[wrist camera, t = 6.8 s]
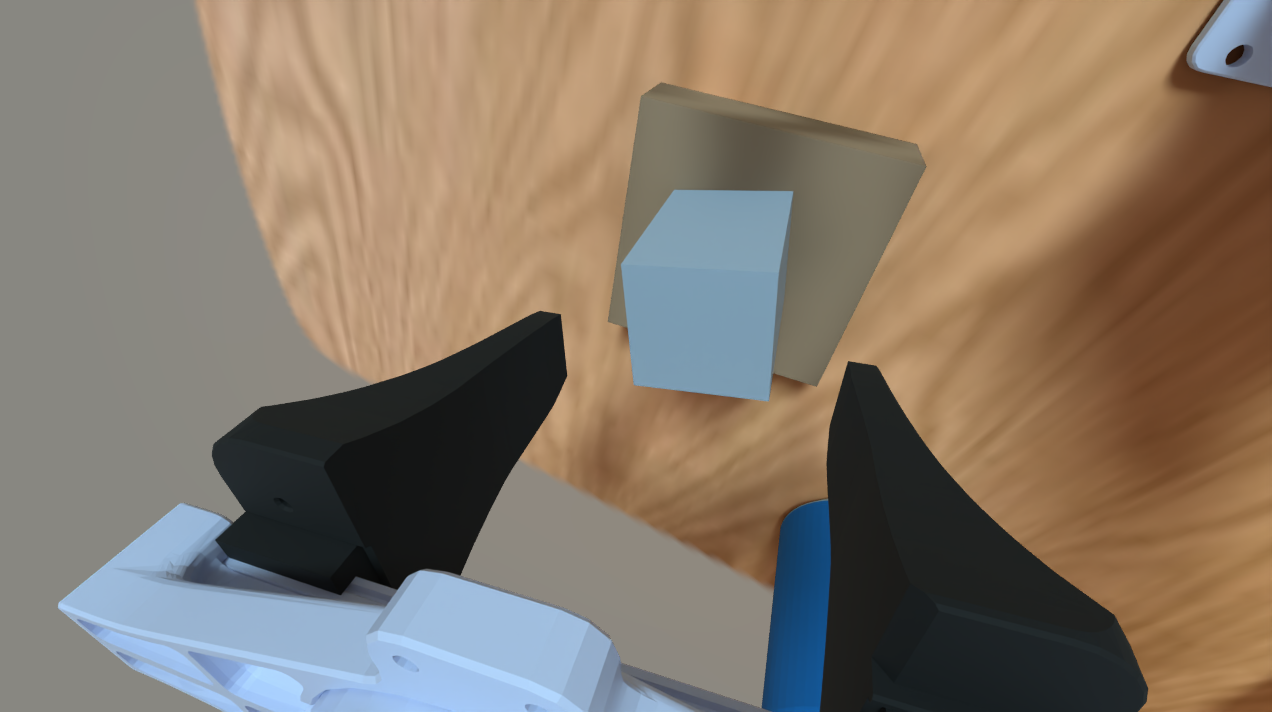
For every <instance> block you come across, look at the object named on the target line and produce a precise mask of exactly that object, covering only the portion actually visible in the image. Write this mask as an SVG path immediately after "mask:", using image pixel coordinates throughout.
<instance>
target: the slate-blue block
mask: <svg viewBox="0 0 1272 712" xmlns="http://www.w3.org/2000/svg"><path fill="white" fill-rule="evenodd" d="M792 201H793V191H733V190H674V191H673V192H672V193H671V195H670V196H669V198H668V199H667V200H666V202H665V203H664V205H663V206H662V207H661V209H660V210H659V212H658V213H657V214H656V216H655V217H654V219H653V220H652V221H651V223H650V224H649V226H648V227H647V228H646V230H645V231H644V233H643V234H642V235H641V237H640V238H639V240H638V241H637V242H636V244H635V245H634V247H633V248H632V249H631V251H630V252H629V254H628V255H627V256H626V258H625V259H624V261H623V262H622V263H621V270H622V279H623V288H624V298H625V307H626V316H627V326H628V335H629V344H630V354H631V363H632V372H633V382H634V385H637V386H646V387H654V388H662V389H671V390H679V391H687V392H696V393H704V394H712V395H721V396H729V397H737V398H746V399H754V400H762V401H769V397H770V390H771V384H772V377H773V370H774V364H775V357H776V350H777V343H778V337H779V330H780V323H781V317H782V310H783V303H784V295H785V283H786V271H787V260H788V248H789V236H790V225H791V213H792Z"/></svg>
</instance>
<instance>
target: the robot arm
mask: <svg viewBox="0 0 1272 712" xmlns="http://www.w3.org/2000/svg"><path fill="white" fill-rule="evenodd" d="M1240 45H1244V50H1245V51H1244V53H1243V55H1242V57H1240V58H1239V59H1238V60H1237V61H1236V62H1234V63H1232V64H1230V65H1226V62H1225V59H1226V57H1227V55H1228V53H1229V52H1230V51H1231V50H1233V49H1234V48H1235V47H1238V46H1240ZM1186 62H1187V63H1188V65H1189V67H1190V68H1192V69H1194V70H1196V71H1199V72H1203V73H1208V74H1212V75H1217V76H1222V77H1226V78H1231V79H1236V80H1240V81H1245V82H1250V83H1254V84H1259V85H1264V86H1268V87H1272V0H1224V1H1223V2H1222V3H1221V5H1220V6H1219V8H1218V9H1217V10H1216V12H1215V13H1214V15H1213V16H1212V17H1211V19H1210V20H1209V22H1208V23H1207V24H1206V26H1205V27H1204V28H1203V30H1202V31H1201V33H1200V34H1199V35H1198V37H1197V38H1196V40H1195V41H1194V42H1193V44H1192V45H1191V47H1190V49H1189V51H1188V53H1187V61H1186ZM566 377H567V369H566V359H565V350H564V340H563V331H562V321H561V314H556V313H549V312H543V311H539V312H536V313H534V314H532V315H530V316H528V317H526V318H524V319H522V320H520V321H518V322H516V323H514V324H512V325H510V326H509V327H507V328H505V329H503V330H501V331H499V332H497V333H495V334H494V335H492V336H490V337H488V338H486V339H484V340H482V341H480V342H478V343H476V344H474V345H472V346H470V347H468V348H466V349H464V350H462V351H460V352H458V353H456V354H453V355H451V356H449V357H447V358H445V359H443V360H441V361H438V362H436V363H433V364H431V365H429V366H426V367H424V368H421V369H418V370H416V371H413V372H410V373H408V374H405V375H402V376H399V377H396V378H392V379H389V380H386V381H383V382H379V383H376V384H373V385H370V386H366V387H363V388H359V389H355V390H351V391H347V392H343V393H338V394H334V395H329V396H325V397H320V398H315V399H310V400H304V401H298V402H291V403H285V404H279V405H272V406H265V407H261V408H259V409H258V410H256V411H255V412H254V413H252V414H251V415H250V416H249V417H247V418H246V419H245V420H244V421H242V422H241V423H240V424H239V425H237V426H236V427H235V428H233V429H232V430H231V431H230V432H228V433H227V434H226V435H225V436H223V437H222V438H220V439H219V440H218V441H217V442H215V443H214V445H213V450H212V457H213V461H214V465H215V466H216V468H217V470H218V472H219V474H220V475H221V477H222V478H223V480H224V481H225V483H226V484H227V485H228V487H229V488H230V490H231V491H232V493H233V494H234V495H235V497H236V498H237V500H238V501H239V503H240V504H241V506H242V507H243V509H244V510H245V511H246V512H245V513H244V514H243V515H241V516H240V517H239V518H238V519H237V520H236V521H235V522H234V523H233V522H232V521H231V520H230V519H228V518H227V517H225V516H223V515H221V514H219V513H216V512H213V511H210V510H207V509H204V508H200V507H197V506H194V505H191V504H187V503H180V504H179V505H178V506H176V507H175V508H174V509H173V510H172V511H170V512H169V513H168V514H167V515H165V516H164V517H163V518H162V519H160V520H159V521H158V522H157V523H156V524H155V525H153V526H152V527H151V528H149V529H148V530H147V531H146V532H145V533H143V534H142V535H141V536H140V537H139V538H137V539H136V540H135V541H134V542H132V543H131V544H130V545H129V546H127V547H126V548H125V549H124V550H123V551H121V552H120V553H119V554H118V555H116V556H115V557H114V558H113V559H112V560H110V561H109V562H108V563H107V564H105V565H104V566H103V567H102V568H101V569H99V570H98V571H97V572H96V573H94V574H93V575H92V576H91V577H90V578H88V579H87V580H86V581H85V582H83V583H82V584H81V585H80V586H78V587H77V588H76V589H75V590H74V591H72V592H71V593H70V594H69V595H68V596H66V597H65V598H64V599H63V600H61V601H60V602H59V606H58V609H60V610H61V611H62V612H63V613H65V614H66V615H67V616H68V617H69V618H71V619H72V620H73V621H74V622H76V623H77V624H78V625H79V626H81V627H82V628H83V629H84V630H85V631H87V632H88V633H89V634H90V635H91V636H93V637H94V638H95V639H96V640H98V641H99V642H100V643H101V644H102V645H104V646H105V647H106V648H107V649H109V650H110V651H111V652H112V653H114V654H115V655H116V656H117V657H119V658H120V659H121V660H122V661H123V662H124V663H126V664H127V665H128V666H130V667H131V668H132V669H134V670H136V671H138V672H140V673H143V674H145V675H148V676H150V677H152V678H154V679H156V680H158V681H161V682H163V683H165V684H167V685H170V686H172V687H174V688H176V689H178V690H180V691H182V692H184V693H186V694H189V695H191V696H193V697H195V698H197V699H199V700H201V701H203V702H205V703H207V704H209V705H211V706H213V707H215V708H217V709H219V710H221V711H223V712H771V711H768V710H765V709H762V708H759V707H756V706H753V705H750V704H747V703H744V702H740V701H738V700H735V699H731V698H728V697H725V696H722V695H719V694H716V693H713V692H710V691H707V690H704V689H701V688H698V687H695V686H691V685H688V684H685V683H682V682H679V681H676V680H673V679H670V678H666V677H664V676H661V675H657V674H655V673H651V672H648V671H645V670H642V669H639V668H636V667H633V666H630V665H627V664H624V663H621V662H620V656H619V654H618V652H617V650H616V648H615V646H614V644H613V642H612V640H611V638H610V637H609V635H608V634H607V633H606V632H605V631H603V630H602V629H601V628H600V627H598V626H597V625H596V624H595V623H593V622H592V621H591V620H590V619H588V618H586V617H583V616H581V615H579V614H577V613H575V612H572V611H570V610H568V609H566V608H563V607H560V606H557V605H554V604H550V603H547V602H544V601H540V600H538V599H534V598H531V597H527V596H524V595H521V594H518V593H515V592H512V591H508V590H505V589H501V588H499V587H495V586H492V585H489V584H485V583H482V582H479V581H476V580H472V579H469V578H466V577H463V576H460V575H461V573H462V570H463V568H464V565H465V563H466V561H467V559H468V557H469V554H470V552H471V550H472V547H473V545H474V543H475V541H476V539H477V537H478V534H479V532H480V530H481V528H482V526H483V524H484V522H485V520H486V518H487V515H488V513H489V511H490V509H491V507H492V505H493V503H494V501H495V499H496V497H497V495H498V494H499V491H500V490H501V488H502V486H503V484H504V482H505V480H506V478H507V477H508V475H509V473H510V472H511V470H512V468H513V467H514V465H515V464H516V462H517V461H518V459H519V458H520V456H521V455H522V453H523V452H524V450H525V449H526V447H527V446H528V444H529V443H530V441H531V440H532V438H533V437H534V435H535V434H536V432H537V431H538V429H539V427H540V426H541V424H542V423H543V421H544V420H545V418H546V417H547V415H548V414H549V412H550V410H551V409H552V407H553V405H554V403H555V401H556V399H557V397H558V395H559V393H560V391H561V389H562V386H563V384H564V382H565V380H566ZM827 485H828V505H829V525H830V544H831V566H830V583H829V600H828V614H827V628H826V642H825V655H824V667H823V679H822V691H821V702H820V712H1138V711H1139V710H1140V709H1141V708H1142V707H1143V705H1144V704H1145V703H1146V702H1147V694H1148V687H1147V685H1146V682H1145V680H1144V678H1143V675H1142V673H1141V670H1140V668H1139V666H1138V663H1137V660H1136V658H1135V656H1134V653H1133V651H1132V649H1131V646H1130V644H1129V642H1128V640H1127V638H1126V636H1125V634H1124V633H1123V631H1122V629H1121V627H1120V625H1119V623H1118V621H1117V619H1116V617H1115V615H1114V614H1112V613H1111V612H1109V611H1108V610H1107V609H1105V608H1104V607H1102V606H1101V605H1100V604H1098V603H1097V602H1095V601H1094V600H1093V599H1091V598H1090V597H1089V596H1087V595H1086V594H1084V593H1083V592H1082V591H1080V590H1079V589H1077V588H1076V587H1075V586H1073V585H1072V584H1070V583H1069V582H1068V581H1066V580H1065V579H1064V578H1062V577H1061V576H1059V575H1058V574H1057V573H1055V572H1054V571H1053V570H1052V569H1050V568H1049V567H1048V566H1047V565H1045V564H1044V563H1043V562H1042V561H1040V560H1039V559H1038V558H1037V557H1036V556H1034V555H1033V554H1032V553H1031V552H1029V551H1028V550H1027V549H1026V548H1024V547H1023V546H1022V545H1021V544H1020V543H1019V542H1017V541H1016V540H1015V539H1014V538H1013V537H1012V536H1011V535H1009V534H1008V533H1007V532H1006V531H1005V530H1004V529H1003V528H1002V527H1000V526H999V525H998V524H997V523H996V522H995V521H994V520H993V519H992V518H991V517H990V516H989V515H988V514H987V513H986V512H985V511H984V510H982V509H981V508H980V507H979V506H978V505H977V504H976V503H975V502H974V501H973V500H972V499H971V498H970V497H969V496H968V494H967V493H966V492H965V491H964V490H963V489H962V488H961V487H960V486H959V485H958V484H957V482H956V481H955V480H954V479H953V478H952V477H951V476H950V475H949V474H948V472H947V471H946V470H945V469H944V468H943V467H942V465H941V464H940V463H939V462H938V460H937V459H936V458H935V456H934V455H933V454H932V452H931V451H930V450H929V448H928V447H927V446H926V444H925V443H924V442H923V440H922V439H921V437H920V436H919V435H918V433H917V432H916V430H915V429H914V427H913V426H912V424H911V423H910V421H909V420H908V418H907V417H906V415H905V413H904V412H903V410H902V409H901V407H900V405H899V404H898V402H897V400H896V399H895V397H894V395H893V394H892V392H891V390H890V388H889V386H888V385H887V383H886V381H885V379H884V377H883V376H882V374H881V372H880V370H879V369H878V367H877V366H874V365H868V364H862V363H856V362H850V361H848V364H847V367H846V371H845V374H844V378H843V381H842V385H841V388H840V392H839V395H838V399H837V402H836V406H835V409H834V413H833V416H832V420H831V423H830V428H829V439H828V451H827Z"/></svg>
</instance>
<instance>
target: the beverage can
mask: <svg viewBox="0 0 1272 712" xmlns="http://www.w3.org/2000/svg"><path fill="white" fill-rule="evenodd" d="M830 566H831V544H830V525H829V505H828V499H822V500H818V501H814V502H810V503H806V504H804V505H801V506H799V507H797V508H796V509H794V510H793V511H791V512H790V513H789V514H788V515H787V516H786V517H785V519H784V520H783V522H782V525H781V529H780V538H779V547H778V557H777V566H776V576H775V586H774V595H773V605H772V614H771V625H770V633H769V644H768V653H767V663H766V673H765V681H764V691H763V700H762V709H765V710H768V711H771V712H820V702H821V691H822V679H823V667H824V655H825V642H826V628H827V614H828V600H829V583H830Z"/></svg>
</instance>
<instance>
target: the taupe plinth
mask: <svg viewBox="0 0 1272 712" xmlns="http://www.w3.org/2000/svg"><path fill="white" fill-rule="evenodd" d="M925 168H926V164H925V162H924V160H923V157H922V155H921V152H920V150H919V148H918V145H917V144H914V143H910V142H906V141H902V140H898V139H893V138H889V137H885V136H881V135H877V134H873V133H869V132H864V131H860V130H856V129H852V128H848V127H844V126H840V125H835V124H831V123H827V122H823V121H819V120H815V119H811V118H806V117H802V116H798V115H794V114H790V113H786V112H782V111H777V110H773V109H769V108H765V107H761V106H757V105H753V104H748V103H744V102H740V101H736V100H732V99H728V98H724V97H719V96H715V95H711V94H707V93H703V92H699V91H695V90H690V89H686V88H682V87H678V86H674V85H670V84H666V83H660V84H658V85H657V86H655V87H654V88H652V89H651V90H649V91H648V92H647V93H645V94H644V95H642V96H641V100H640V107H639V114H638V120H637V127H636V134H635V141H634V148H633V154H632V161H631V168H630V175H629V182H628V188H627V195H626V202H625V209H624V215H623V222H622V229H621V236H620V243H619V249H618V256H617V263H616V270H615V277H614V283H613V290H612V297H611V304H610V311H609V317H608V322H610V323H613V324H617V325H620V326H623V327H626V328H628V326H627V316H626V307H625V298H624V288H623V279H622V270H621V263H622V262H623V261H624V259H625V258H626V256H627V255H628V254H629V252H630V251H631V249H632V248H633V247H634V245H635V244H636V242H637V241H638V240H639V238H640V237H641V235H642V234H643V233H644V231H645V230H646V228H647V227H648V226H649V224H650V223H651V221H652V220H653V219H654V217H655V216H656V214H657V213H658V212H659V210H660V209H661V207H662V206H663V205H664V203H665V202H666V200H667V199H668V198H669V196H670V195H671V193H672V192H673V191H674V190H733V191H793V201H792V213H791V225H790V236H789V248H788V260H787V271H786V283H785V295H784V303H783V310H782V317H781V323H780V330H779V337H778V343H777V350H776V357H775V364H774V370H773V373H774V374H778V375H781V376H784V377H787V378H791V379H794V380H797V381H800V382H803V383H807V384H810V385H813V386H816V387H817V385H818V383H819V381H820V379H821V377H822V375H823V373H824V371H825V369H826V367H827V365H828V363H829V361H830V359H831V357H832V355H833V353H834V351H835V349H836V347H837V345H838V343H839V341H840V339H841V337H842V335H843V333H844V331H845V329H846V327H847V325H848V323H849V321H850V319H851V317H852V315H853V313H854V311H855V309H856V307H857V305H858V303H859V301H860V299H861V297H862V295H863V293H864V291H865V289H866V287H867V285H868V283H869V281H870V279H871V277H872V275H873V273H874V271H875V269H876V267H877V265H878V263H879V261H880V259H881V257H882V255H883V253H884V251H885V249H886V247H887V245H888V243H889V241H890V239H891V236H892V234H893V232H894V230H895V228H896V226H897V224H898V222H899V220H900V218H901V216H902V214H903V212H904V210H905V208H906V206H907V204H908V202H909V200H910V198H911V196H912V194H913V192H914V190H915V188H916V186H917V184H918V182H919V180H920V178H921V176H922V174H923V172H924V170H925Z"/></svg>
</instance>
